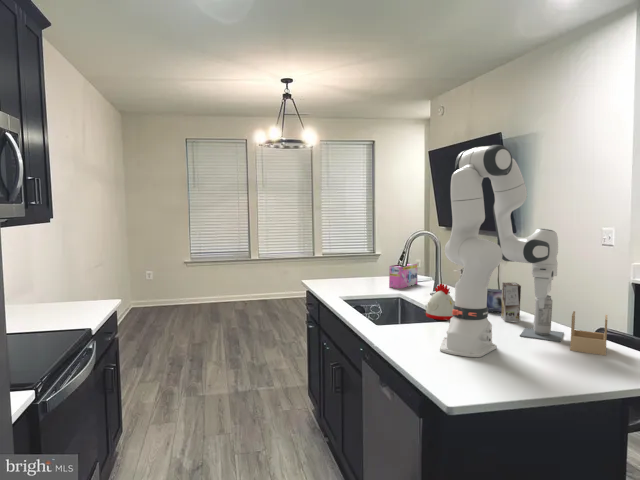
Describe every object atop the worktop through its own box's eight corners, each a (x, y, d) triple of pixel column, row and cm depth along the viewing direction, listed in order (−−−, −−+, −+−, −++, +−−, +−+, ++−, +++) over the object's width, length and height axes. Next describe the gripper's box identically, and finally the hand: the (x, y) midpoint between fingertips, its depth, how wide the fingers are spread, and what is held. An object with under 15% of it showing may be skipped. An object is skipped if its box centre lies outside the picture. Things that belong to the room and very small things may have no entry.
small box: (482, 312, 221) (483, 290, 221) (483, 309, 227) (484, 288, 227) (506, 314, 217) (507, 292, 217) (506, 311, 223) (507, 289, 223)
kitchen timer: (441, 321, 203) (442, 287, 202) (419, 315, 215) (420, 283, 214) (463, 317, 211) (464, 284, 210) (440, 311, 222) (441, 280, 221)
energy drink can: (548, 332, 184) (550, 294, 183) (552, 336, 178) (554, 297, 177) (532, 331, 185) (534, 293, 184) (535, 334, 179) (537, 296, 178)
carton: (605, 355, 157) (607, 320, 156) (570, 350, 162) (571, 316, 162) (605, 347, 166) (607, 314, 165) (572, 342, 171) (573, 310, 171)
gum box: (408, 282, 307) (408, 262, 306) (418, 284, 302) (419, 263, 301) (388, 287, 289) (389, 265, 288) (399, 289, 284) (400, 266, 283)
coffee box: (520, 322, 202) (521, 285, 200) (504, 321, 203) (505, 285, 202) (515, 317, 210) (516, 282, 209) (500, 316, 212) (501, 281, 211)
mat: (560, 342, 172) (560, 340, 172) (519, 336, 180) (520, 335, 179) (563, 333, 184) (563, 332, 184) (525, 328, 191) (525, 327, 191)
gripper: (538, 267, 190) (537, 300, 191) (532, 273, 173) (530, 309, 174) (555, 268, 187) (554, 302, 188) (550, 274, 170) (549, 311, 171)
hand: (543, 305), depth 181 cm, fingers open, 8 cm apart
